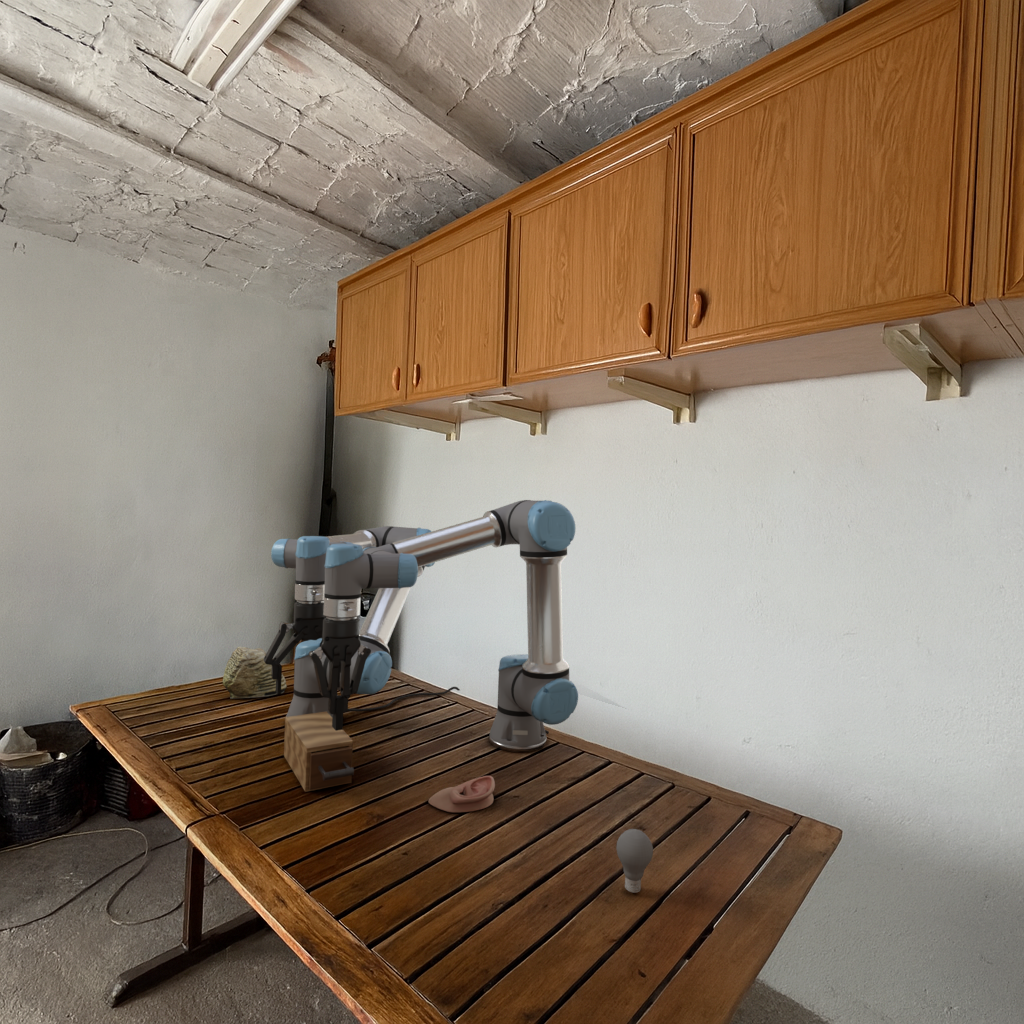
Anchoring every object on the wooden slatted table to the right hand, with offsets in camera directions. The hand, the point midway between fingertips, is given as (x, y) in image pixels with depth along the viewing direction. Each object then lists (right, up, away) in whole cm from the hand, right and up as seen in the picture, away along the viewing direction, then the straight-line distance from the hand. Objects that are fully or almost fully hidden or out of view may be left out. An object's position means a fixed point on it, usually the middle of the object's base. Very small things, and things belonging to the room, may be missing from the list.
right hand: (337, 727), depth 134 cm
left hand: (-12, +3, +18) cm, 21 cm away
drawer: (-6, -13, +9) cm, 17 cm away
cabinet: (-9, -14, +13) cm, 21 cm away
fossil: (-44, -12, +64) cm, 78 cm away
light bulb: (+57, -18, -28) cm, 66 cm away
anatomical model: (+26, -16, 0) cm, 31 cm away
